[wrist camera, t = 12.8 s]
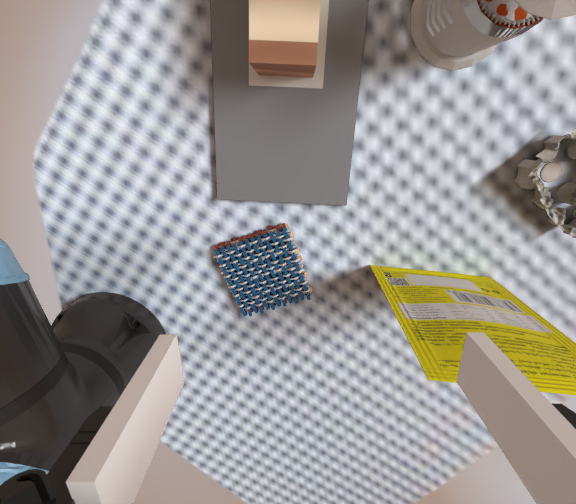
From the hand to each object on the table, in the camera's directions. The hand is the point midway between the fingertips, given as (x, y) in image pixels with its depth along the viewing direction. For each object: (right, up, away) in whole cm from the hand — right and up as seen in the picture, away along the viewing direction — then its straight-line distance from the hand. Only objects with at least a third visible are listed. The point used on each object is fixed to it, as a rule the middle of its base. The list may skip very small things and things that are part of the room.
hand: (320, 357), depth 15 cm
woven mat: (-5, +3, +28) cm, 28 cm away
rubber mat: (-2, +22, +19) cm, 29 cm away
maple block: (-1, +27, +16) cm, 32 cm away
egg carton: (+29, +13, +22) cm, 39 cm away
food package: (+16, +3, +26) cm, 31 cm away
